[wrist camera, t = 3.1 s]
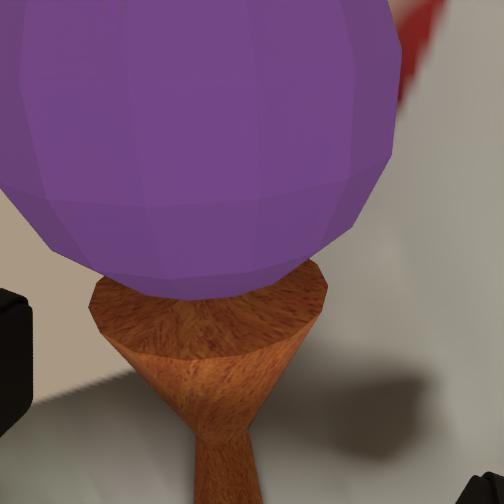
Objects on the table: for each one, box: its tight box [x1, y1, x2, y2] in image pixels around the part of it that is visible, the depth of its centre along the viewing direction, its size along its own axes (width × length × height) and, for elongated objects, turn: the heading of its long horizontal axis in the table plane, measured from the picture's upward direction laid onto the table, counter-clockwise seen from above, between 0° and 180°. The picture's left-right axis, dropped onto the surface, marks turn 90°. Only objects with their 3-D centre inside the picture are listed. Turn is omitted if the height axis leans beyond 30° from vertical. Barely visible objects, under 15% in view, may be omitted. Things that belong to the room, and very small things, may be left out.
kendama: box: [0, 0, 402, 504], centre depth 10 cm, size 6×6×20 cm
